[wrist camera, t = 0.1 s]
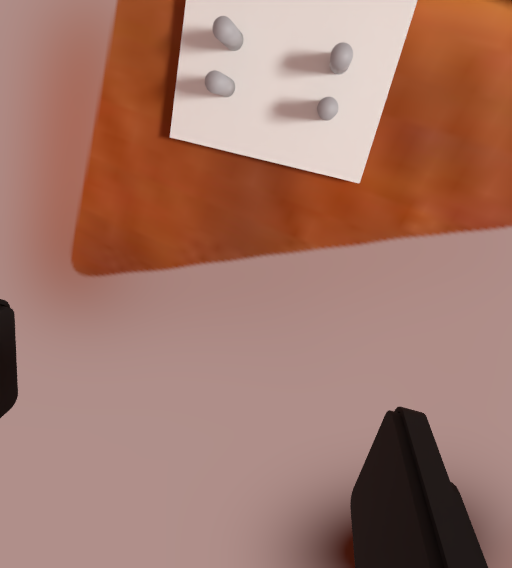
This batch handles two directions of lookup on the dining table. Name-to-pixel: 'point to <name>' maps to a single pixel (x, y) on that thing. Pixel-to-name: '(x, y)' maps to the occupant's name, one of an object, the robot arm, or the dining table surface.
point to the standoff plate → (289, 78)
